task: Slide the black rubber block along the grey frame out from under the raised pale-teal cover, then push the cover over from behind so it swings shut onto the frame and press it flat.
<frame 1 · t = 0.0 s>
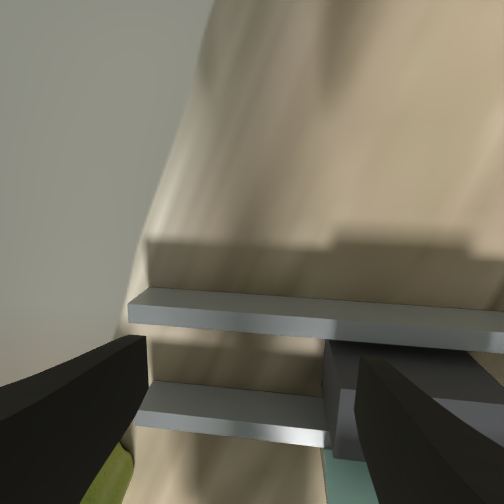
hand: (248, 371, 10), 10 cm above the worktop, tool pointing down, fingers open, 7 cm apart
plant pot: (99, 456, 25), on the worktop
grey frame: (327, 358, 21), on the worktop
block: (385, 362, 21), on the worktop
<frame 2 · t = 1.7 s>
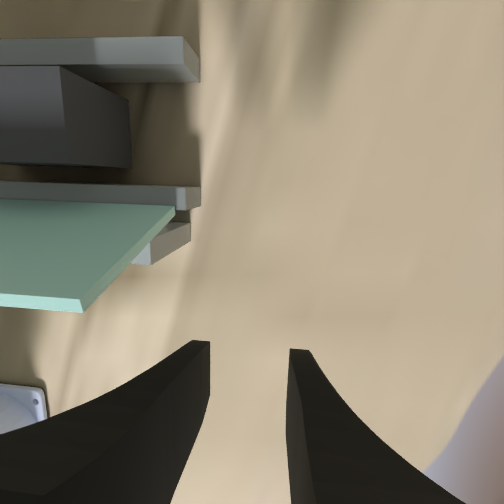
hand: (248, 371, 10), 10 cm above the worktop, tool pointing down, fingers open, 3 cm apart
grey frame: (15, 133, 20), on the worktop
block: (71, 134, 20), on the worktop
cover: (10, 237, 14), point 7 cm above the worktop, hinge at 104.7°
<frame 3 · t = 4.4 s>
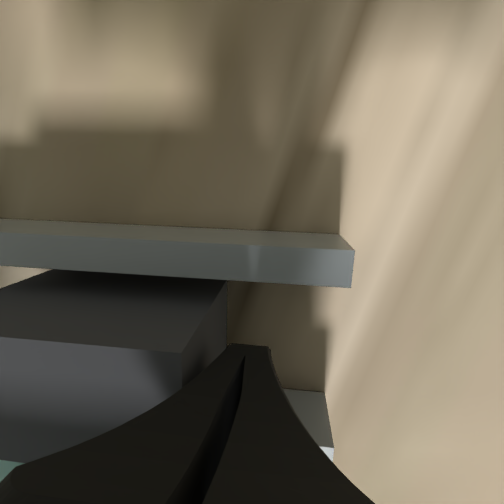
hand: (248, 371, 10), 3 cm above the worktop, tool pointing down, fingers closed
grey frame: (63, 310, 15), on the worktop
block: (141, 315, 14), on the worktop, touching gripper
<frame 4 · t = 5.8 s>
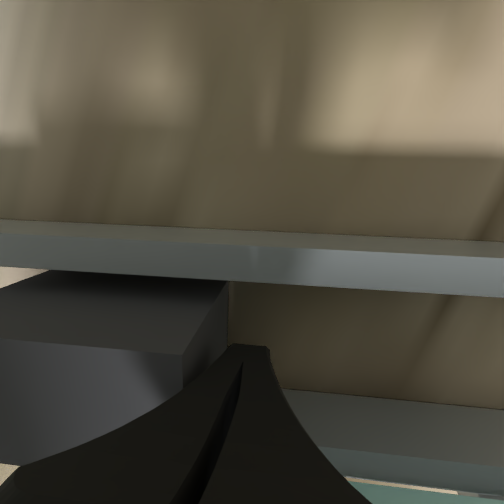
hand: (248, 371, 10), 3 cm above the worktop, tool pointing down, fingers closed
grey frame: (232, 323, 14), on the worktop
block: (141, 315, 14), on the worktop, touching gripper
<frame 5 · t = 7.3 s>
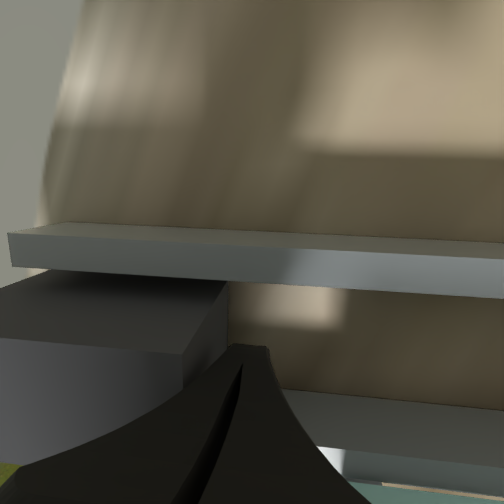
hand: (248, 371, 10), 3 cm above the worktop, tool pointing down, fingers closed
plant pot: (14, 479, 18), on the worktop
grey frame: (345, 333, 13), on the worktop
block: (141, 315, 14), on the worktop, touching gripper
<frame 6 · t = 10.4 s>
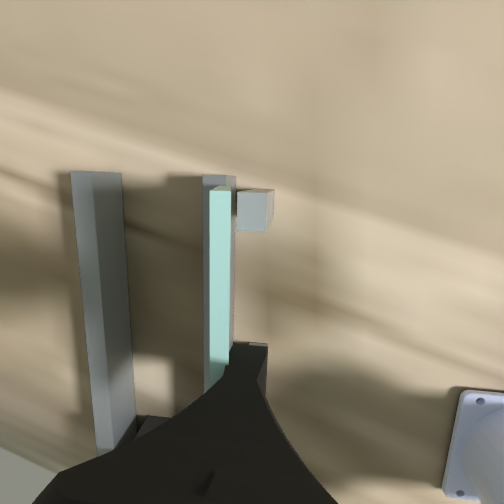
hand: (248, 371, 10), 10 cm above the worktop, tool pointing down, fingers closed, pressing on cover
grey frame: (173, 356, 22), on the worktop
block: (176, 462, 24), on the worktop
cover: (222, 338, 13), point 7 cm above the worktop, hinge at 100.8°, touching gripper
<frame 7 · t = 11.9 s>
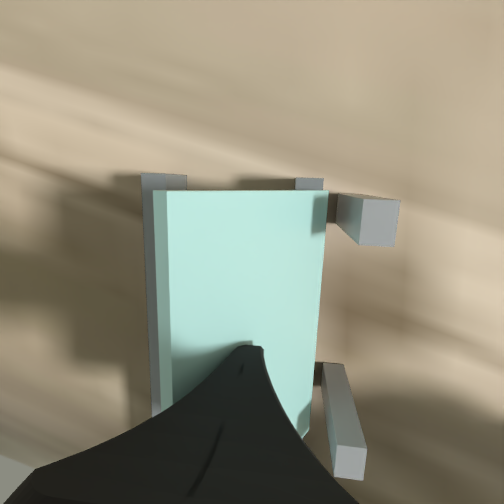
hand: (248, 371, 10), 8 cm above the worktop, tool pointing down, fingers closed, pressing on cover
grey frame: (235, 376, 20), on the worktop
cover: (260, 356, 12), point 7 cm above the worktop, hinge at 59.3°, touching gripper
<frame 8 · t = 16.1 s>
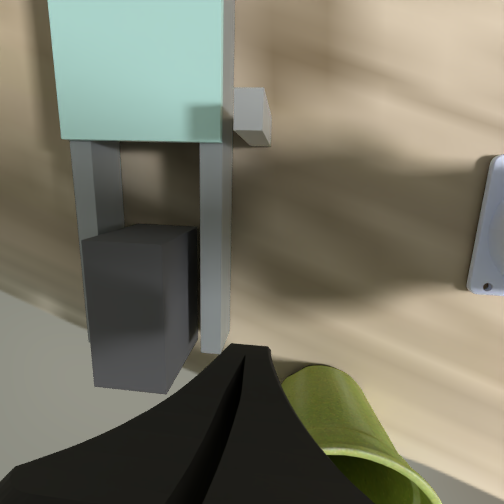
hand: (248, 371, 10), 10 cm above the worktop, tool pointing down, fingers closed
plant pot: (318, 401, 22), on the worktop
grey frame: (165, 143, 19), on the worktop
block: (169, 282, 21), on the worktop
cover: (134, 7, 15), point 3 cm above the worktop, hinge at 0.6°
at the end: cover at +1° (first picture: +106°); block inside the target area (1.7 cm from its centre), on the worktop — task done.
